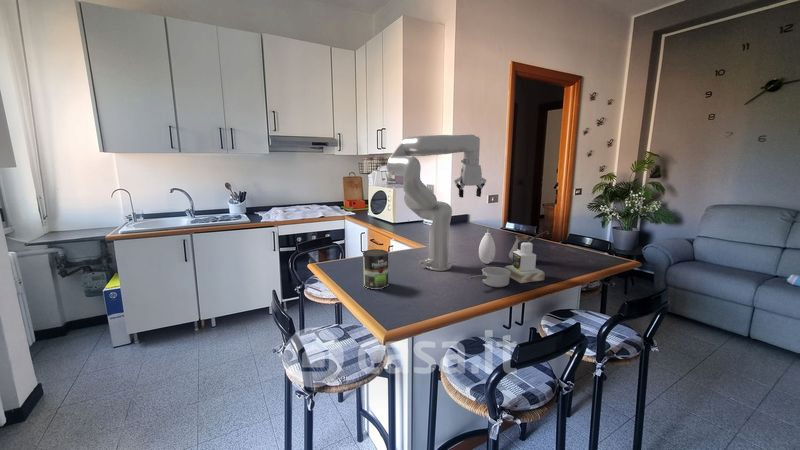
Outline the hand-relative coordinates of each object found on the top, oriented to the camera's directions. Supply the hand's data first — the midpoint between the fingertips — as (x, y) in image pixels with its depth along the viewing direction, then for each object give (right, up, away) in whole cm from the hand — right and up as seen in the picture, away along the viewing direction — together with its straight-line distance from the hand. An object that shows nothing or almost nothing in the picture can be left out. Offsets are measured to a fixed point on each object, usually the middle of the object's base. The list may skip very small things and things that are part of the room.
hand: (469, 196), depth 167 cm
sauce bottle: (+8, -33, -2) cm, 34 cm away
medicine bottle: (+19, -33, -21) cm, 44 cm away
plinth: (+19, -37, -21) cm, 47 cm away
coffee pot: (+31, -32, +3) cm, 45 cm away
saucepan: (+1, -39, -30) cm, 50 cm away
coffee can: (-45, -39, -30) cm, 67 cm away
